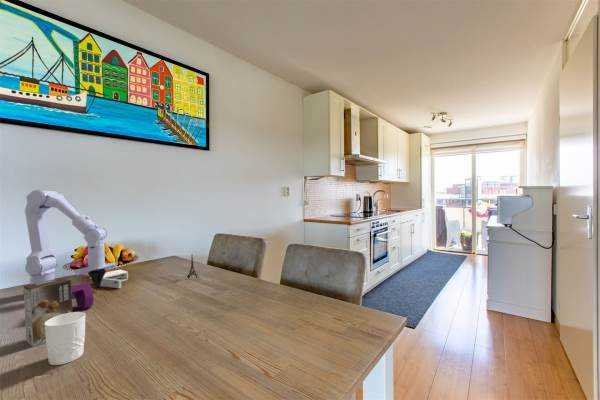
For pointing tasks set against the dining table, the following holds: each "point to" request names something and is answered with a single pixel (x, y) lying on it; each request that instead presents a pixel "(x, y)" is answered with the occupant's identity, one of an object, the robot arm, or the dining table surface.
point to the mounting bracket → (82, 295)
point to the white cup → (65, 337)
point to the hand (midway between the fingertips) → (97, 287)
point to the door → (111, 283)
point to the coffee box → (45, 306)
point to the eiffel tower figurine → (191, 269)
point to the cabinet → (116, 275)
